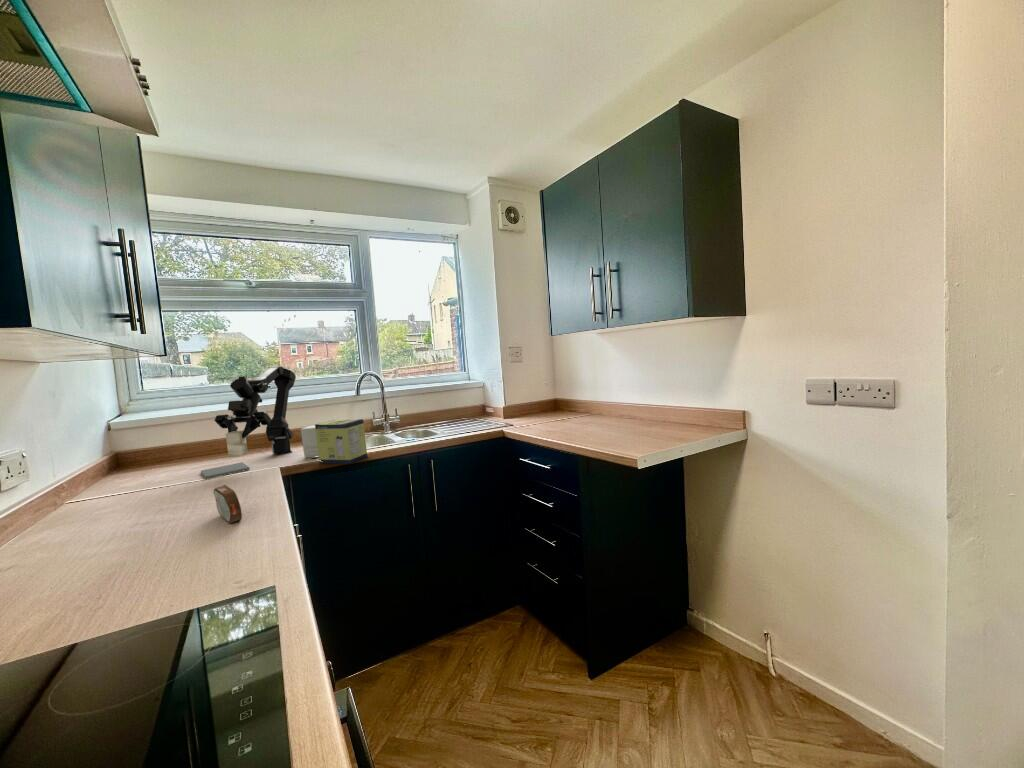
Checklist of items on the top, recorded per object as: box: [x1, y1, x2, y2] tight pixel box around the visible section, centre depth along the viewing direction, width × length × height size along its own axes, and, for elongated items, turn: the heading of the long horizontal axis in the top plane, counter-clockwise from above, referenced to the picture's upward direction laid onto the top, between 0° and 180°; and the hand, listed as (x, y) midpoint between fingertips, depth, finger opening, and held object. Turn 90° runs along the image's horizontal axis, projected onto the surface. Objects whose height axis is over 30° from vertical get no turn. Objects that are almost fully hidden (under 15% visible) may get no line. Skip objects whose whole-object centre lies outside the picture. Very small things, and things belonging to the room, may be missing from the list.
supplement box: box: [300, 424, 319, 458], centre depth 182 cm, size 7×7×13 cm
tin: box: [213, 484, 243, 524], centre depth 113 cm, size 15×3×8 cm, turn 47°
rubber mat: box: [200, 461, 251, 479], centre depth 167 cm, size 14×14×1 cm
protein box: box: [314, 418, 368, 465], centre depth 170 cm, size 10×16×16 cm
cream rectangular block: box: [225, 429, 249, 458], centre depth 161 cm, size 4×4×9 cm
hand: (236, 438), depth 161 cm, fingers closed on cream rectangular block, 4 cm apart
